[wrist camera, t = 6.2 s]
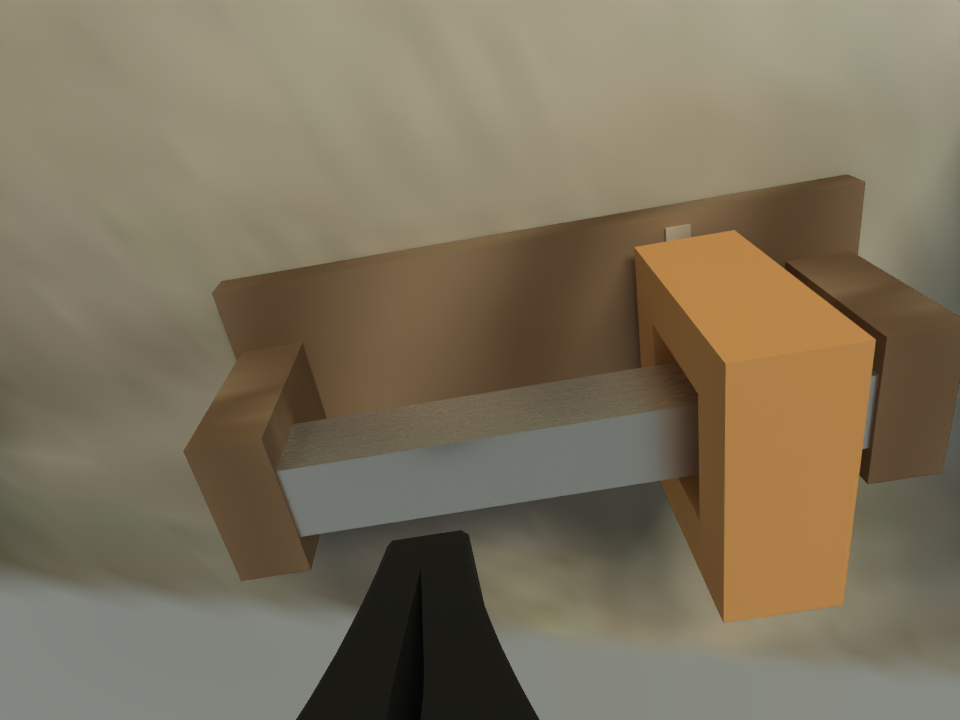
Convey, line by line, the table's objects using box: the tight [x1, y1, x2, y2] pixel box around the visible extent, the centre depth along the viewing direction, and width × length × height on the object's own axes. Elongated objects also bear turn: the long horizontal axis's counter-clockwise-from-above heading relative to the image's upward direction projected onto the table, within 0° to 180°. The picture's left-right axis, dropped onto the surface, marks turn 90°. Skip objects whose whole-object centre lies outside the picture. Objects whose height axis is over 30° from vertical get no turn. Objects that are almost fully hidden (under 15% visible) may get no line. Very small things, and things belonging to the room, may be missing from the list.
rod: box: [276, 362, 879, 537], centre depth 15 cm, size 16×2×2 cm, turn 99°
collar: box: [634, 230, 876, 623], centre depth 15 cm, size 2×6×6 cm, turn 9°
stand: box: [183, 175, 960, 581], centre depth 16 cm, size 16×7×5 cm, turn 99°
